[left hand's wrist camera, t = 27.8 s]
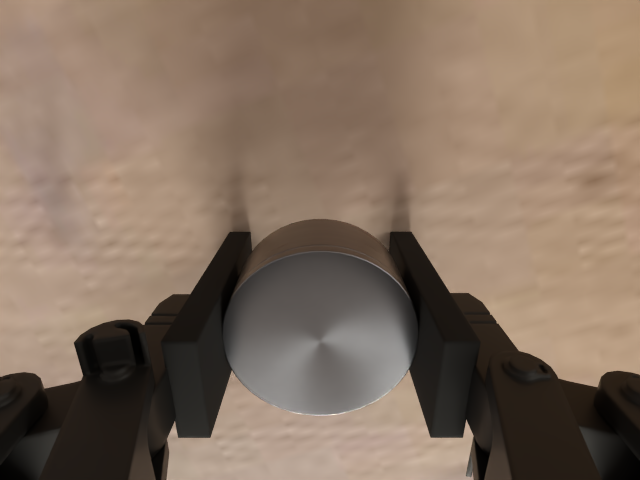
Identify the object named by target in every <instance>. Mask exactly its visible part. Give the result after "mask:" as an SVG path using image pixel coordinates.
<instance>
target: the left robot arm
mask: <svg viewBox="0 0 640 480" xmlns="http://www.w3.org/2000/svg"><path fill="white" fill-rule="evenodd" d="M251 252H252V247H251V233H250V232H230V233H229V234H228V236H227V237H226V239H225V241H224V242H223V244H222V245H221V247H220V248H219V250H218V252H217V253H216V255H215V256H214V258H213V259H212V261H211V263H210V264H209V266H208V267H207V269H206V271H205V272H204V274H203V275H202V277H201V278H200V280H199V282H198V283H197V285H196V286H195V288H194V290H193V291H192V293H191V294H173V295H171V296H170V297H168V298H167V299H165V300H164V301H162V302H161V303H159V305H158V306H157V307H156V309H155V310H154V311H153V313H152V316H150V317H149V318H148V319H147V321H146V322H145V325H142V324H141V323H139V322H138V321H133V320H115V321H110V322H106V323H103V324H100V325H98V326H95V327H93V328H91V329H89V330H88V331H86V332H85V333H83V334H81V335H80V336H79V337H78V339H77V340H76V341H75V342H74V345H75V349H76V352H77V356H78V359H79V362H80V366H81V369H82V373H83V378H82V380H81V381H78V382H74V383H70V384H65V385H60V386H56V387H51V388H46V389H44V387H43V384H42V381H41V378H39V377H38V376H37V375H36V374H33V373H26V372H23V373H15V374H9V375H5V376H3V377H0V480H166V478H167V468H168V459H169V448H168V442H167V437H168V435H169V433H170V431H171V428H172V426H173V424H174V421H175V423H176V428H177V433H178V438H210V437H211V434H212V431H213V428H214V424H215V421H216V418H217V415H218V412H219V409H220V406H221V402H222V399H223V396H224V393H225V390H226V387H227V383H228V380H229V377H230V374H231V371H232V369H231V367H230V365H229V363H228V361H227V358H226V355H225V352H224V346H223V337H222V323H223V318H224V313H225V311H226V308H227V305H228V302H229V300H230V298H231V295H232V293H233V290H234V288H235V286H236V283H237V281H238V278H239V276H240V274H241V271H242V269H243V266H244V264H245V262H246V260H247V258H248V257H249V255H250V254H251ZM389 253H390V255H391V256H392V258H393V260H394V262H395V264H396V266H397V268H398V270H399V273H400V275H401V277H402V279H403V282H404V284H405V286H406V288H407V291H408V293H409V295H410V298H411V300H412V302H413V305H414V307H415V310H416V313H417V317H418V322H419V336H418V345H417V351H416V355H415V357H414V360H413V362H412V364H411V366H410V368H409V370H410V374H411V377H412V380H413V383H414V386H415V389H416V393H417V396H418V399H419V402H420V405H421V408H422V412H423V415H424V418H425V421H426V424H427V427H428V430H429V434H430V437H431V438H463V434H464V428H465V423H466V419H467V422H468V424H469V426H470V428H471V431H472V433H473V435H474V437H473V442H472V447H471V452H470V457H469V462H468V467H467V473H466V476H468V477H471V476H472V471H473V477H474V480H640V375H639V374H635V373H630V372H623V371H613V372H607V373H606V374H604V375H603V376H602V377H601V379H600V382H599V385H598V387H593V386H588V385H583V384H579V383H574V382H569V381H565V380H562V379H558V377H557V375H556V374H555V372H554V371H553V369H552V368H551V367H550V366H549V365H548V364H546V363H545V362H544V361H542V360H541V359H539V358H537V357H535V356H532V355H530V354H528V353H524V352H520V351H518V349H517V348H516V347H515V345H514V344H513V343H512V341H511V340H510V339H509V337H508V336H507V335H506V333H505V332H504V331H503V329H502V328H501V327H500V325H499V324H497V323H496V320H495V319H494V317H493V316H492V315H490V312H489V311H488V310H487V308H486V307H485V306H484V304H483V303H482V302H481V301H479V300H478V299H476V298H475V297H473V296H472V295H470V294H469V293H450V292H449V291H448V289H447V288H446V286H445V284H444V283H443V281H442V280H441V278H440V276H439V275H438V273H437V272H436V270H435V269H434V267H433V265H432V264H431V262H430V261H429V259H428V257H427V256H426V254H425V253H424V251H423V250H422V248H421V246H420V245H419V243H418V242H417V240H416V239H415V237H414V235H413V234H412V232H391V236H390V250H389Z"/></svg>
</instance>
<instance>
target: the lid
mask: <svg viewBox="0 0 640 480" xmlns="http://www.w3.org/2000/svg"><path fill="white" fill-rule="evenodd" d="M418 336H419V322H418V317H417V313H416V310H415V307H414V305H413V302H412V300H411V298H410V295H409V293H408V291H407V288H406V286H405V284H404V282H403V279H402V277H401V275H400V273H399V270H398V268H397V266H396V264H395V262H394V260H393V258H392V256H391V255H390V253H389V252H388V251H387V249H386V248H385V247H384V246H383V245H382V244H381V243H380V242H379V241H378V240H377V239H376V238H375V237H373V236H372V235H371V234H369V233H368V232H366V231H364V230H362V229H360V228H359V227H356V226H354V225H351V224H348V223H345V222H341V221H337V220H328V219H312V220H304V221H300V222H296V223H292V224H289V225H287V226H284V227H282V228H280V229H278V230H276V231H275V232H273V233H271V234H270V235H268V236H267V237H266V238H265V239H263V240H262V241H261V242H260V243H259V244H258V245H257V246H256V247H255V248H254V250H253V251H252V252H251V254H250V255H249V257H248V258H247V260H246V262H245V264H244V266H243V269H242V271H241V274H240V276H239V278H238V281H237V283H236V286H235V288H234V290H233V293H232V295H231V298H230V300H229V302H228V305H227V308H226V311H225V313H224V318H223V323H222V337H223V346H224V352H225V355H226V358H227V361H228V363H229V365H230V367H231V369H232V371H233V372H234V374H235V375H236V377H237V378H238V379H239V380H240V381H241V383H242V384H243V385H244V386H245V387H246V388H247V389H248V390H249V391H251V392H252V393H253V394H254V395H256V396H257V397H259V398H260V399H262V400H263V401H265V402H267V403H269V404H271V405H273V406H275V407H278V408H280V409H283V410H286V411H290V412H293V413H299V414H304V415H315V416H317V415H335V414H342V413H346V412H351V411H354V410H357V409H360V408H363V407H365V406H367V405H369V404H372V403H373V402H375V401H377V400H378V399H380V398H382V397H383V396H384V395H386V394H387V393H388V392H390V391H391V390H392V389H393V388H394V387H395V386H396V385H397V384H398V383H399V382H400V381H401V380H402V378H403V377H404V376H405V375H406V373H407V371H408V370H409V368H410V366H411V364H412V362H413V360H414V357H415V355H416V351H417V345H418Z"/></svg>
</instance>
